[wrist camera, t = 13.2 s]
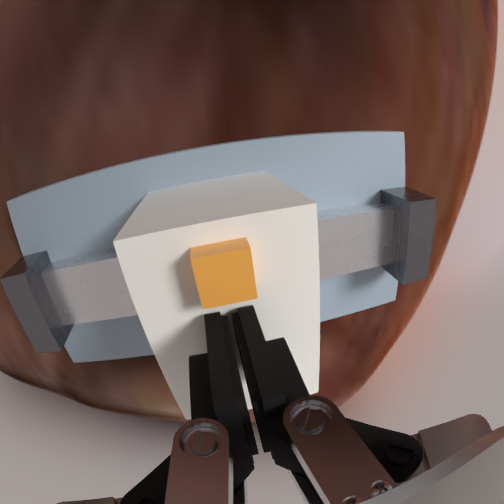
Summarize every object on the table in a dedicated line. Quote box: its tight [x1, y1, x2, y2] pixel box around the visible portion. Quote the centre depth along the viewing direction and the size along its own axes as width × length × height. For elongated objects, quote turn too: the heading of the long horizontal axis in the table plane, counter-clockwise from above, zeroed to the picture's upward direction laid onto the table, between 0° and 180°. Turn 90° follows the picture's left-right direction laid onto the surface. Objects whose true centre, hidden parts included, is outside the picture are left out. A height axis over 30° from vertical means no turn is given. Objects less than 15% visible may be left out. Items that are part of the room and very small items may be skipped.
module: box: [113, 171, 320, 420], centre depth 13 cm, size 6×8×8 cm
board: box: [7, 131, 405, 363], centre depth 17 cm, size 24×12×2 cm, turn 97°
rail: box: [0, 187, 436, 353], centre depth 15 cm, size 24×5×3 cm, turn 97°
